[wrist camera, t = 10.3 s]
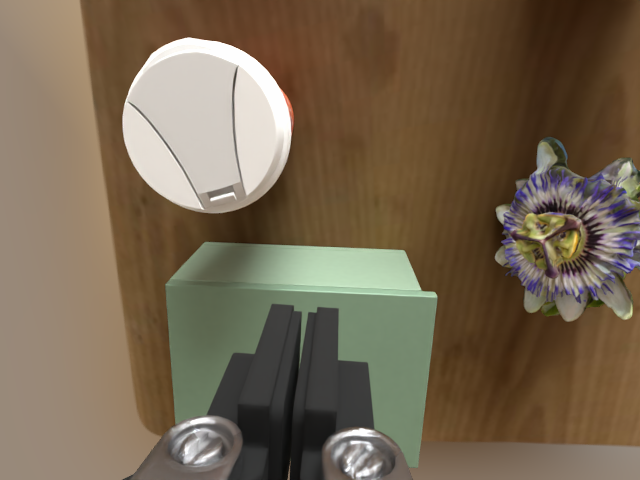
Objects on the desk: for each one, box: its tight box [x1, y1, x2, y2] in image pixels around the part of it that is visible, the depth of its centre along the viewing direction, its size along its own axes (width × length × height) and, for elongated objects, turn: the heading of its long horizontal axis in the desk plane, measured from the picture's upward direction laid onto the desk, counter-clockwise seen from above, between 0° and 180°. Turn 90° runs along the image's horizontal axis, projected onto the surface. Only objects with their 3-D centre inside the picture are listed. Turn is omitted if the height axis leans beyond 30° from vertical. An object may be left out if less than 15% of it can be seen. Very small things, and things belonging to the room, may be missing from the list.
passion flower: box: [495, 137, 640, 322], centre depth 31 cm, size 11×11×12 cm
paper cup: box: [123, 38, 294, 213], centre depth 26 cm, size 8×8×14 cm
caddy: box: [170, 242, 422, 291], centre depth 34 cm, size 16×13×8 cm
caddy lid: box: [165, 280, 438, 468], centre depth 30 cm, size 16×13×1 cm
